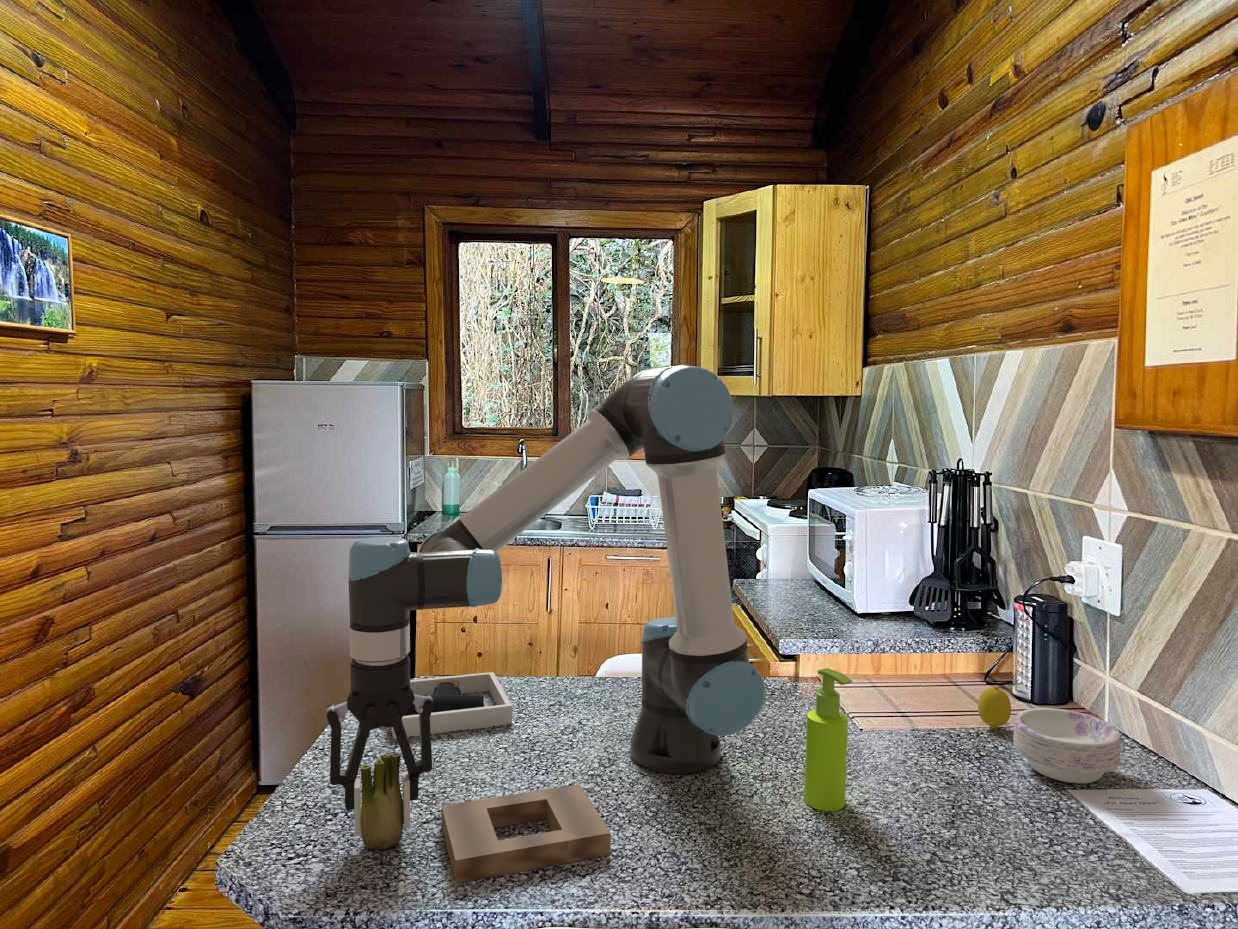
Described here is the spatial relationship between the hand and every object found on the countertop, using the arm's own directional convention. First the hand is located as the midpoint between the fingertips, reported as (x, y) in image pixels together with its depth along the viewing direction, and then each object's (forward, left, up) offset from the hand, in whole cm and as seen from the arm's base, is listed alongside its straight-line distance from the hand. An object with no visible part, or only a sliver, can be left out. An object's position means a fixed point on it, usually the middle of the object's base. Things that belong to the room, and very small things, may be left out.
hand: (382, 826), depth 107 cm
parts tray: (-14, -43, -2) cm, 45 cm away
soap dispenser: (-63, +9, -3) cm, 64 cm away
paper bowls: (-106, +12, -3) cm, 107 cm away
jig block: (-18, +5, -2) cm, 19 cm away
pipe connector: (-13, -42, -3) cm, 44 cm away
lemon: (-108, -5, -3) cm, 108 cm away
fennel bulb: (0, 0, -3) cm, 3 cm away
